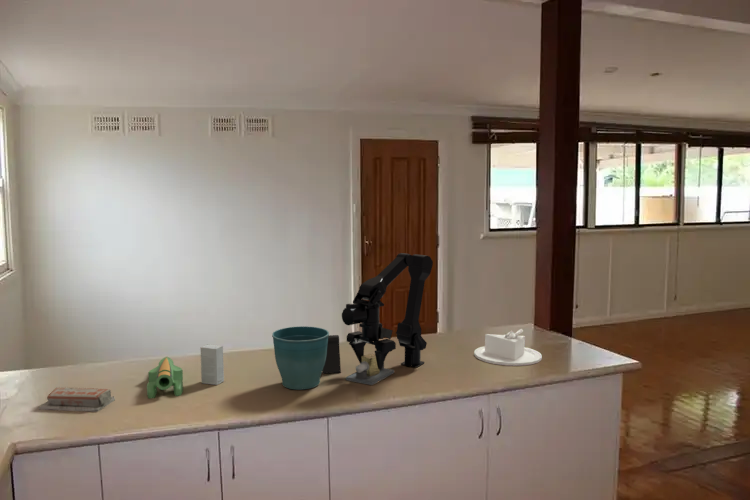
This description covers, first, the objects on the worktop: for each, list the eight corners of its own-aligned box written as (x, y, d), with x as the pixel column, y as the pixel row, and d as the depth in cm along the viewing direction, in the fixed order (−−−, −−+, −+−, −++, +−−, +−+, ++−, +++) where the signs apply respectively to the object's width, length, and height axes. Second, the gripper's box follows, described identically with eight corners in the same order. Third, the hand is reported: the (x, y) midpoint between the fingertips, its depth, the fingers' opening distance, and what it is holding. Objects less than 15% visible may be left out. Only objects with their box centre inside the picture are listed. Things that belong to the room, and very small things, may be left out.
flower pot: (331, 392, 191) (331, 338, 189) (273, 395, 188) (272, 341, 186) (326, 374, 208) (326, 325, 207) (272, 377, 205) (272, 327, 204)
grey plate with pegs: (369, 368, 215) (369, 351, 215) (394, 372, 210) (394, 355, 210) (345, 380, 203) (345, 362, 202) (372, 385, 198) (372, 366, 197)
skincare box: (224, 381, 201) (223, 345, 200) (217, 385, 197) (216, 349, 195) (208, 379, 203) (207, 344, 201) (200, 383, 199) (199, 347, 197)
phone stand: (340, 372, 210) (340, 338, 209) (323, 373, 209) (323, 339, 208) (336, 365, 219) (336, 332, 218) (320, 366, 218) (319, 333, 216)
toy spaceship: (151, 368, 215) (150, 348, 214) (182, 366, 218) (181, 346, 217) (146, 399, 184) (145, 376, 184) (183, 396, 188) (182, 372, 187)
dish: (549, 354, 235) (551, 325, 234) (528, 370, 214) (529, 339, 213) (489, 344, 249) (490, 317, 247) (463, 359, 228) (464, 329, 226)
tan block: (369, 376, 203) (369, 358, 203) (361, 373, 206) (361, 356, 206) (379, 373, 207) (379, 355, 206) (371, 370, 209) (371, 353, 209)
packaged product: (115, 385, 183) (97, 397, 174) (116, 401, 184) (98, 413, 174) (58, 383, 185) (37, 394, 175) (59, 398, 186) (38, 411, 176)
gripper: (407, 321, 203) (407, 367, 205) (369, 312, 217) (369, 355, 218) (383, 327, 196) (383, 374, 197) (345, 317, 209) (345, 362, 211)
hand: (370, 366), depth 206 cm, fingers open, 9 cm apart
